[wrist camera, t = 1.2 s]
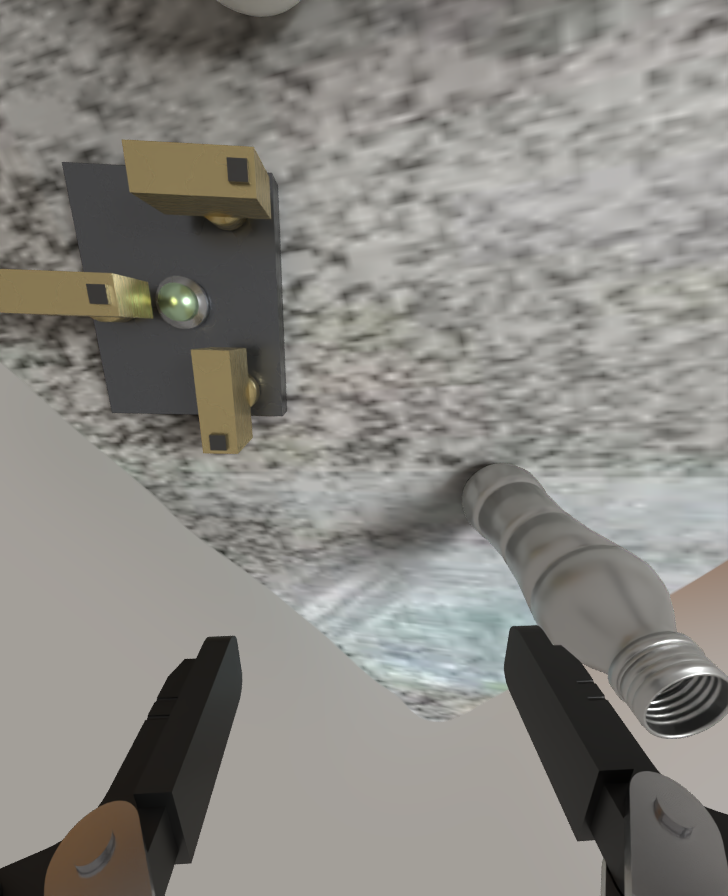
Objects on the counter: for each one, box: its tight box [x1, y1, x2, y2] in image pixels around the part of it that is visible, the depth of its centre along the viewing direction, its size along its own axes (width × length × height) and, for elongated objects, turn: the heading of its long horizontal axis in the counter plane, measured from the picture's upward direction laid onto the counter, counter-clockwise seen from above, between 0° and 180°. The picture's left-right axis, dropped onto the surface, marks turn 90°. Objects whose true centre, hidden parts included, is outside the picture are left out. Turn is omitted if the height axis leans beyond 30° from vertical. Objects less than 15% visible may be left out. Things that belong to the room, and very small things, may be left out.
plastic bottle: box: [462, 463, 728, 739], centre depth 23 cm, size 6×7×20 cm
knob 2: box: [122, 140, 271, 231], centre depth 20 cm, size 6×3×6 cm, turn 88°
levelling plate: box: [62, 162, 287, 416], centre depth 25 cm, size 16×13×3 cm
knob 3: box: [191, 347, 260, 454], centre depth 24 cm, size 6×3×6 cm, turn 178°
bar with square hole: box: [0, 269, 153, 322], centre depth 22 cm, size 6×3×6 cm, turn 88°
